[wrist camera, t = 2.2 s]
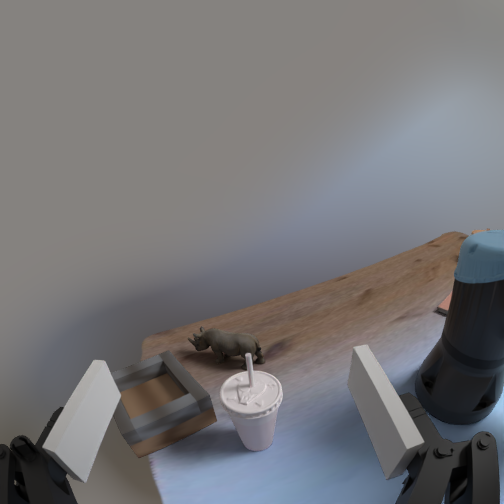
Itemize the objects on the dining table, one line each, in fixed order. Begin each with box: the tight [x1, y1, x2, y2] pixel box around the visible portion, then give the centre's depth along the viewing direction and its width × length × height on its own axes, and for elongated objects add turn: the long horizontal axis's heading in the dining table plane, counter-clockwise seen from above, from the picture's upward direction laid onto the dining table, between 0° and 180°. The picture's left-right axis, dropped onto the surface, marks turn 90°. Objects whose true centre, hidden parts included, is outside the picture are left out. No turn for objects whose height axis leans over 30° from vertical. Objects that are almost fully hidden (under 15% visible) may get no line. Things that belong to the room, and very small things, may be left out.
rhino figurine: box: [188, 327, 265, 370], centre depth 44 cm, size 4×14×6 cm, turn 68°
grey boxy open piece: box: [111, 350, 217, 458], centre depth 32 cm, size 12×12×6 cm
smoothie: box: [220, 353, 283, 451], centre depth 26 cm, size 6×6×14 cm
